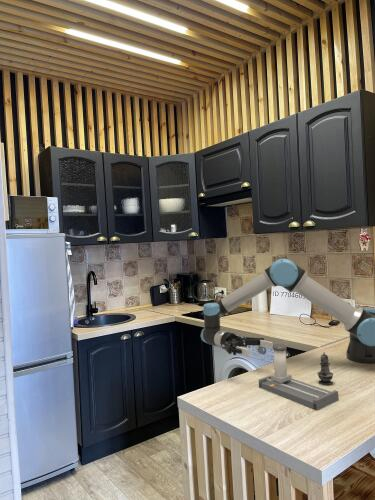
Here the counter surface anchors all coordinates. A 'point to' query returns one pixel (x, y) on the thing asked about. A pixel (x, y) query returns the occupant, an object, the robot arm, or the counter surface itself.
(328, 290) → the robot arm
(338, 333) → the counter surface
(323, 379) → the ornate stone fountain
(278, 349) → the fader
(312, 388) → the console
